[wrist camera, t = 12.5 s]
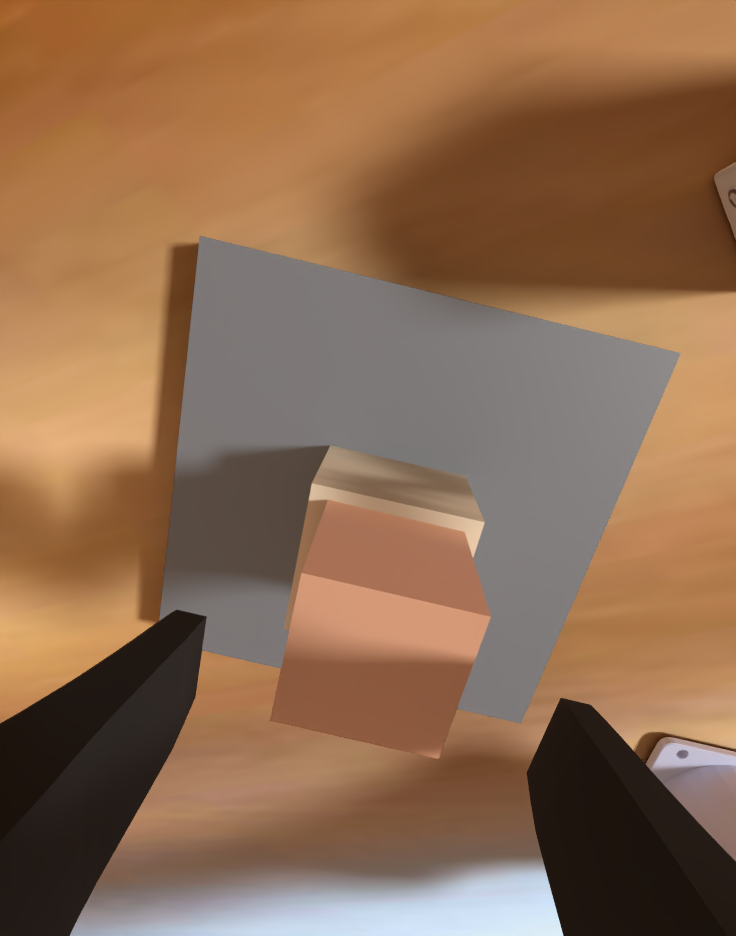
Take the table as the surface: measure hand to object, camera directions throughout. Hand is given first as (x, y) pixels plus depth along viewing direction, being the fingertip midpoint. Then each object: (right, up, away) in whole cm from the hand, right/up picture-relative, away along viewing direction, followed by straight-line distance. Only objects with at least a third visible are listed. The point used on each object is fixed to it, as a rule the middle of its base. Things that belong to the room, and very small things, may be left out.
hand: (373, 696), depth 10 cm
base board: (+1, +3, +10) cm, 10 cm away
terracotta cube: (0, +1, +5) cm, 5 cm away
